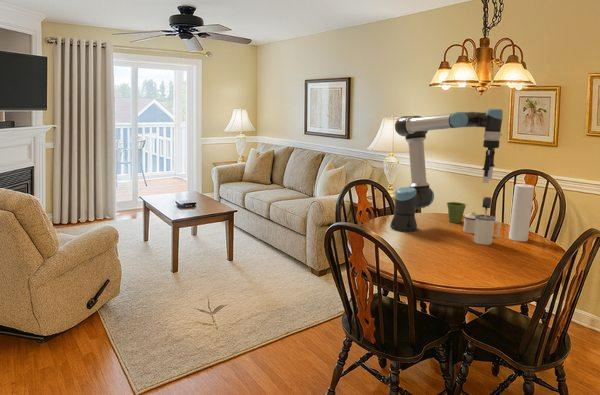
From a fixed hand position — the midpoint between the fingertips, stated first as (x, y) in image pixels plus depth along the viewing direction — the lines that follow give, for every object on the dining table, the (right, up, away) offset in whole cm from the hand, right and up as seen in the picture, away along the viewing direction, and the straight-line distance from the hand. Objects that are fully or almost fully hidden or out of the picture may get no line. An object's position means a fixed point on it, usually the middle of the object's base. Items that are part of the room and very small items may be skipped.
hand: (487, 181), depth 241 cm
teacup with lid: (+1, -28, +26) cm, 39 cm away
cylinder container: (+22, -31, +13) cm, 41 cm away
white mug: (+1, -32, +5) cm, 33 cm away
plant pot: (-1, -24, +48) cm, 53 cm away
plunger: (0, -28, +5) cm, 29 cm away
